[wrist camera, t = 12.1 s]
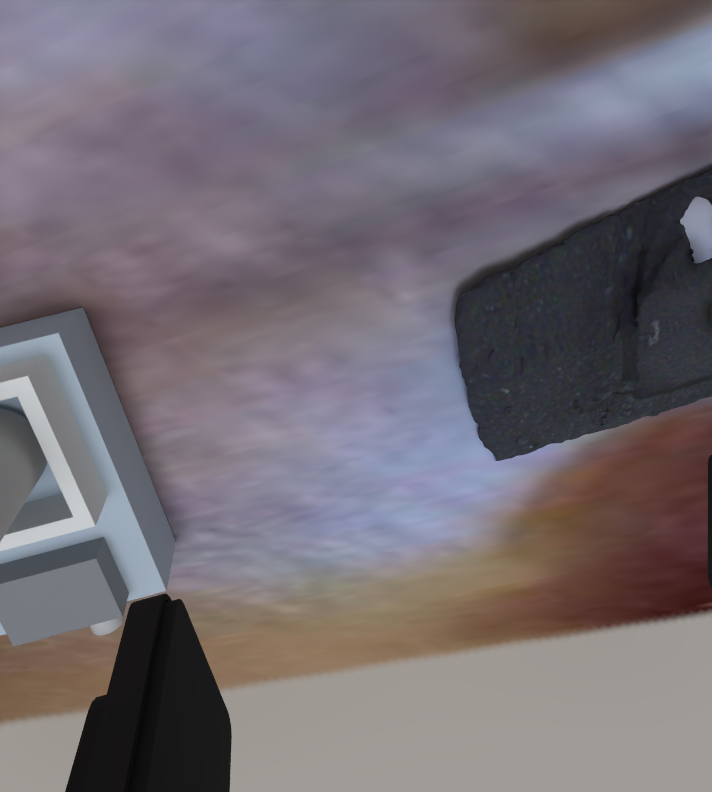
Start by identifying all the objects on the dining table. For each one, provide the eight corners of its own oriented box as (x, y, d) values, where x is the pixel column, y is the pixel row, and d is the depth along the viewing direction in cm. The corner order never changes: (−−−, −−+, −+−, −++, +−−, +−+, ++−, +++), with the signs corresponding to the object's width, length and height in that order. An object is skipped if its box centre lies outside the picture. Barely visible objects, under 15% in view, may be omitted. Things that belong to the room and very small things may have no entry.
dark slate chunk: (426, 254, 38) (448, 270, 34) (776, 139, 39) (843, 140, 34) (479, 470, 44) (504, 507, 40) (782, 369, 45) (839, 394, 41)
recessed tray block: (-99, 352, 36) (-190, 409, 28) (82, 307, 36) (39, 352, 29) (41, 617, 43) (-3, 717, 36) (189, 577, 44) (177, 667, 36)
